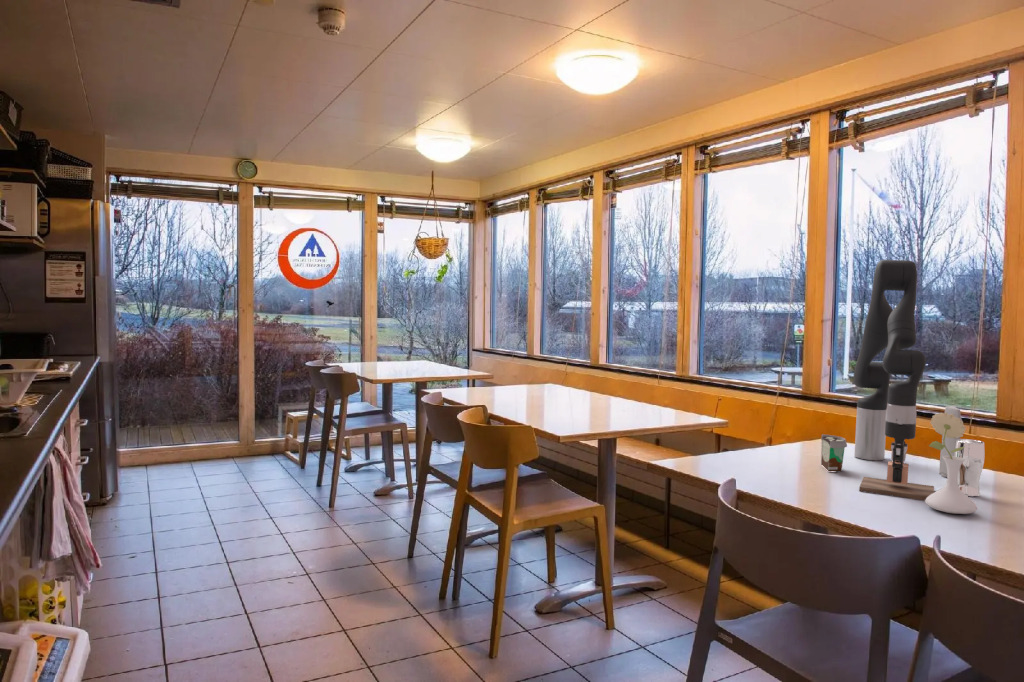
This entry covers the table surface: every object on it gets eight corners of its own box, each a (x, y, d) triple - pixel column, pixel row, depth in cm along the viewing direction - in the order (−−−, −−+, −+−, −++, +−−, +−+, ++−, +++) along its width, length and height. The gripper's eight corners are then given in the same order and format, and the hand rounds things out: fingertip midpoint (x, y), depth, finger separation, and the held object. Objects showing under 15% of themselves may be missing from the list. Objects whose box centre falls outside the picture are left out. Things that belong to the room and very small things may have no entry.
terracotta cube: (887, 478, 201) (888, 461, 201) (907, 481, 198) (908, 463, 198) (886, 482, 197) (887, 464, 196) (907, 484, 194) (908, 467, 194)
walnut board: (863, 480, 208) (863, 476, 208) (933, 490, 199) (934, 486, 199) (859, 491, 196) (859, 486, 196) (933, 501, 187) (934, 497, 187)
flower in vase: (988, 516, 175) (994, 417, 174) (952, 519, 172) (959, 418, 170) (942, 501, 187) (948, 409, 186) (908, 504, 184) (914, 410, 183)
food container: (850, 474, 216) (852, 442, 215) (829, 473, 217) (830, 441, 216) (840, 465, 228) (841, 435, 227) (820, 464, 229) (821, 434, 228)
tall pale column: (964, 481, 210) (969, 409, 209) (950, 480, 211) (954, 408, 210) (947, 472, 221) (951, 403, 220) (933, 472, 221) (937, 403, 220)
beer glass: (946, 491, 198) (949, 439, 197) (963, 489, 200) (966, 438, 200) (971, 498, 191) (974, 444, 190) (987, 496, 194) (991, 442, 193)
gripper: (887, 415, 205) (883, 473, 206) (884, 422, 192) (880, 483, 193) (916, 418, 201) (913, 476, 202) (915, 425, 189) (911, 487, 190)
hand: (897, 479), depth 198 cm, fingers closed on terracotta cube, 5 cm apart
